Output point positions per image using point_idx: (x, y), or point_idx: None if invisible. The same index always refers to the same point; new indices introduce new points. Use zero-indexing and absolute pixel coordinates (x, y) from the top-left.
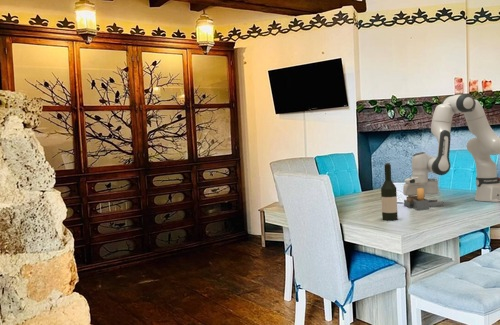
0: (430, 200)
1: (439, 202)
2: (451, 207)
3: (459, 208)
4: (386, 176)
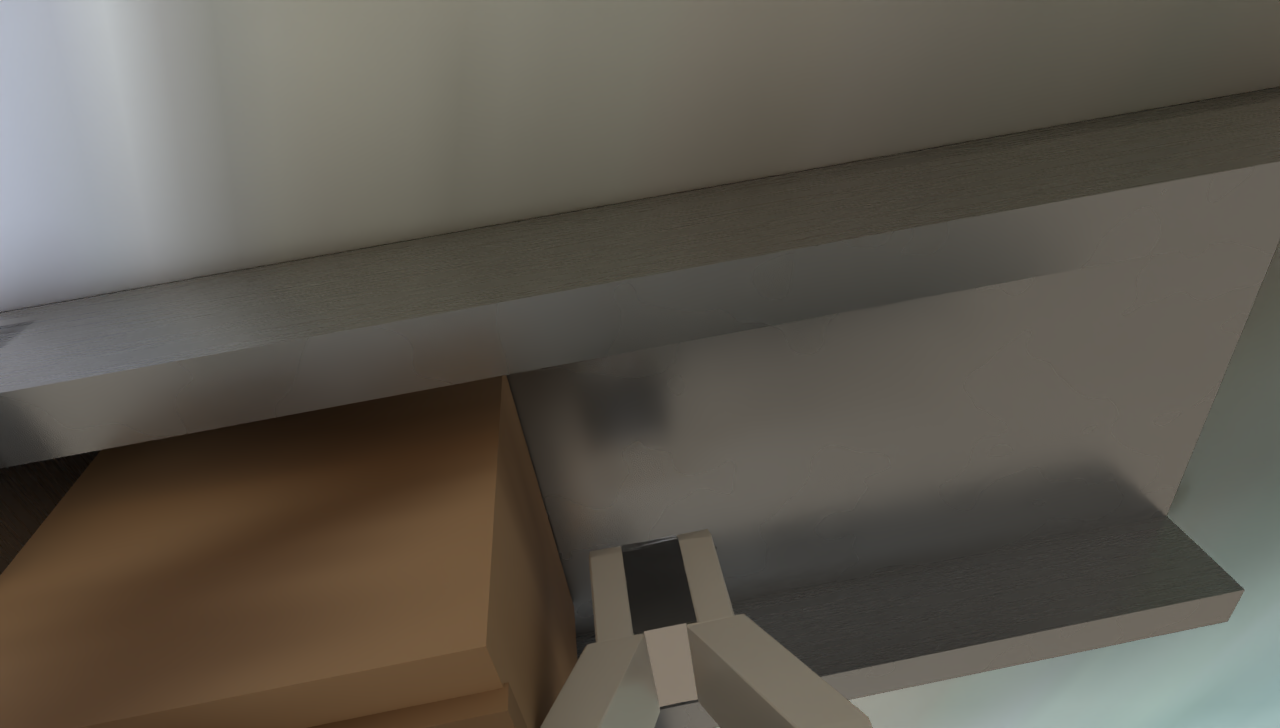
0: (1142, 251)
1: (1112, 637)
2: (1165, 645)
3: (1204, 713)
4: None
